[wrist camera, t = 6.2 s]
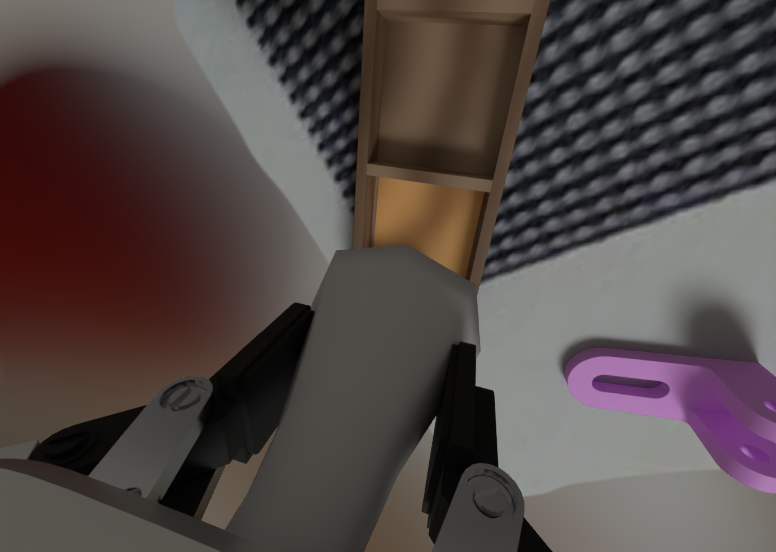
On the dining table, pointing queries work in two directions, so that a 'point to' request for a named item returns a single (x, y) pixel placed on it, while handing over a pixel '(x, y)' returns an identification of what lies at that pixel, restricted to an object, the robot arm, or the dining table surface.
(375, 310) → the flask
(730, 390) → the bracket
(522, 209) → the dining table surface
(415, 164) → the divided wooden tray
